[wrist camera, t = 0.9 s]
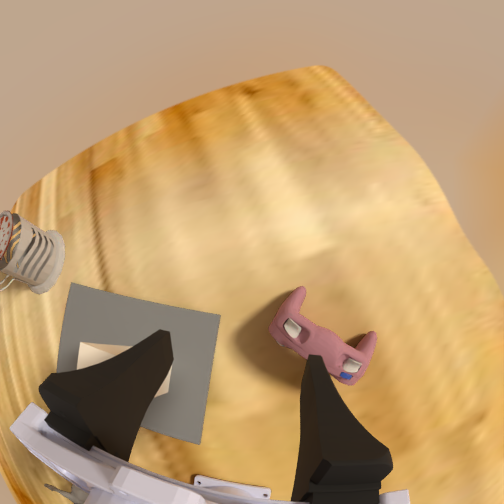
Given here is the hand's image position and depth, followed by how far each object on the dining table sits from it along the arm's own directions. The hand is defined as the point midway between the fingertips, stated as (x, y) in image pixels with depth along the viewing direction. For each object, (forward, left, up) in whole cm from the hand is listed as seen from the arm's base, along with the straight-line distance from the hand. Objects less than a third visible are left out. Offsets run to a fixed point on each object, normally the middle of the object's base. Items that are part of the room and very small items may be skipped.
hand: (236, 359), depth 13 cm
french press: (+4, +32, -13) cm, 35 cm away
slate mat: (-4, +14, -13) cm, 19 cm away
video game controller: (+2, -6, -13) cm, 15 cm away
